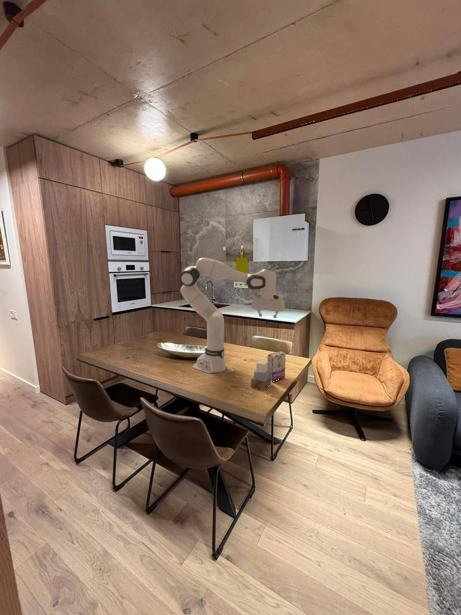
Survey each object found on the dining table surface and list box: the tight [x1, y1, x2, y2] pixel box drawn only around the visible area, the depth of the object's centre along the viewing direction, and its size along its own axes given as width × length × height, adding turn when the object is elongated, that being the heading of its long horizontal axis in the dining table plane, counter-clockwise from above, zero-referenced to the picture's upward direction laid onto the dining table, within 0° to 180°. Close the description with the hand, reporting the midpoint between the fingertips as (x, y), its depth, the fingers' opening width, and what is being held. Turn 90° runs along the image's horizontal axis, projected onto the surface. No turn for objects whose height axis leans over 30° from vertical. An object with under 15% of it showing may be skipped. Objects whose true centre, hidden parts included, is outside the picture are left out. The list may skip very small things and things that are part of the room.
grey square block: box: [253, 370, 270, 382], centre depth 148 cm, size 7×7×4 cm
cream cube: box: [255, 360, 268, 373], centre depth 148 cm, size 5×5×5 cm
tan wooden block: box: [250, 376, 272, 391], centre depth 149 cm, size 9×9×5 cm
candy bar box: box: [266, 350, 287, 383], centre depth 157 cm, size 11×5×16 cm, turn 126°
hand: (267, 317), depth 160 cm, fingers open, 8 cm apart
